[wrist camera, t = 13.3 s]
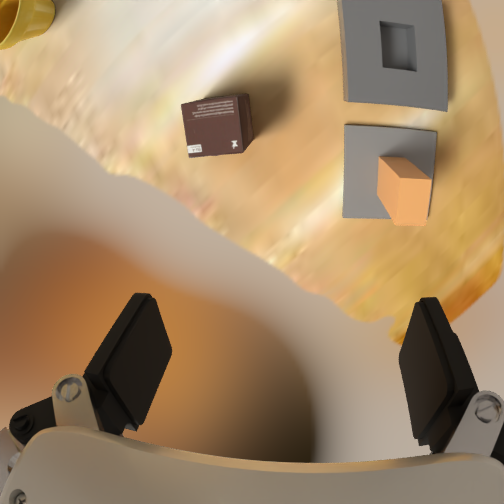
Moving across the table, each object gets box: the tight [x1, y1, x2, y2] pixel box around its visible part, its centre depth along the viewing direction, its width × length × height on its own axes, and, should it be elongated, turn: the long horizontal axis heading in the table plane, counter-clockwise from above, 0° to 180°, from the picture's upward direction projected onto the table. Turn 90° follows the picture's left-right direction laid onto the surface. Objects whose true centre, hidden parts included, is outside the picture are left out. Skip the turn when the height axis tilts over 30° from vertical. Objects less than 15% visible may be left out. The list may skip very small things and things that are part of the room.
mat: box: [342, 125, 437, 219], centre depth 36 cm, size 12×12×1 cm
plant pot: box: [0, 0, 55, 50], centre depth 25 cm, size 10×10×10 cm
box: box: [181, 94, 254, 158], centre depth 33 cm, size 6×6×7 cm
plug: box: [377, 156, 432, 226], centre depth 32 cm, size 5×4×9 cm
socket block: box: [337, 0, 448, 112], centre depth 27 cm, size 14×12×4 cm
